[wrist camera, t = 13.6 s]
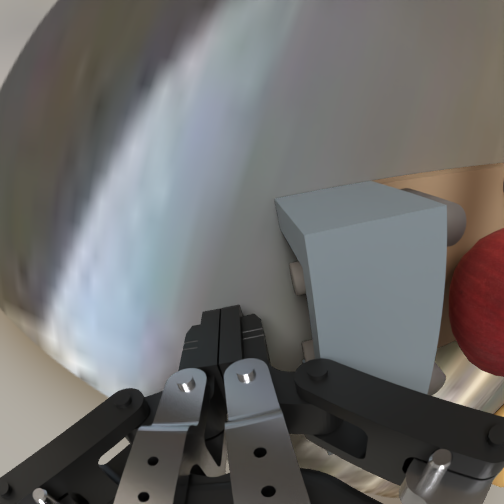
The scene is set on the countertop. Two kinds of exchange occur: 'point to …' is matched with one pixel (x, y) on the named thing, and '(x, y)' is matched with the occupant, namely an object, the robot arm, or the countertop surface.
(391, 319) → the housing
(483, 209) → the pin seat
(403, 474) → the robot arm
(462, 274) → the onion
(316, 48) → the countertop surface
